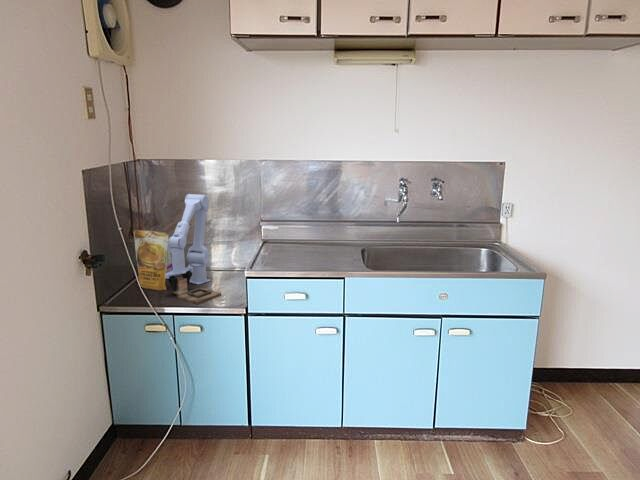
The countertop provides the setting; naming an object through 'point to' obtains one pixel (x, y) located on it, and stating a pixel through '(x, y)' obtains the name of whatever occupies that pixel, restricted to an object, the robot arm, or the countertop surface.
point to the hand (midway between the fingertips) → (180, 289)
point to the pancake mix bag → (151, 258)
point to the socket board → (199, 295)
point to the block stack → (181, 285)
